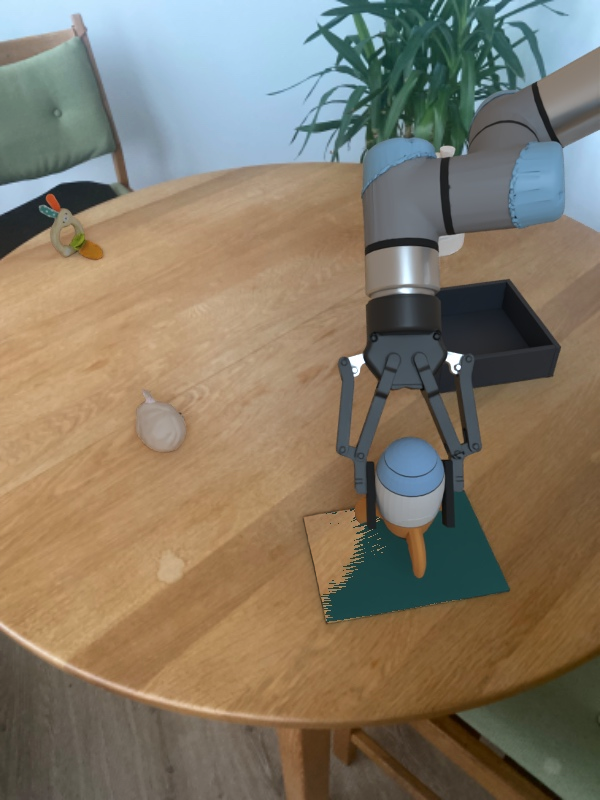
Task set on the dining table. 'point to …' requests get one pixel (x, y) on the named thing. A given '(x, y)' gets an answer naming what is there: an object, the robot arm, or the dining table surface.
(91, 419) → the dining table surface
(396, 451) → the toy rocket
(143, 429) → the garlic bulb
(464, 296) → the tub
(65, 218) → the rattle
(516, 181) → the robot arm
